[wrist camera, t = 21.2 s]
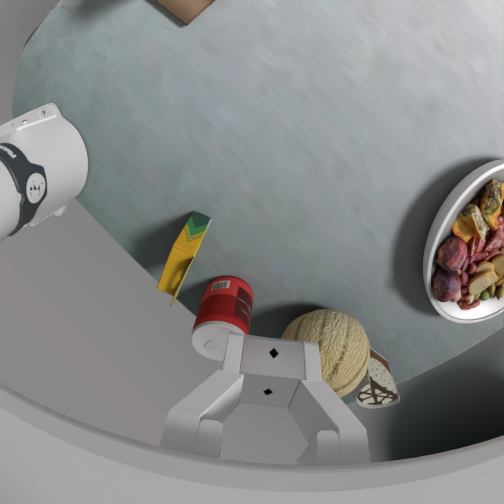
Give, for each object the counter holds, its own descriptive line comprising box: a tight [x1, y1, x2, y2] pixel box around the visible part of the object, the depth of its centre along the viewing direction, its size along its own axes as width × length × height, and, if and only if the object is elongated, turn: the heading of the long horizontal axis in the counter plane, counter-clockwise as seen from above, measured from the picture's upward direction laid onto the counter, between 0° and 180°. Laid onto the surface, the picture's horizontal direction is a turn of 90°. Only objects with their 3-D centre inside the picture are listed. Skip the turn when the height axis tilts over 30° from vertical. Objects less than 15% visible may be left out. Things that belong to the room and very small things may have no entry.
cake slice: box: [352, 346, 400, 408], centre depth 52 cm, size 12×6×10 cm, turn 49°
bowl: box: [423, 159, 504, 323], centre depth 37 cm, size 30×30×8 cm
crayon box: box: [157, 211, 212, 306], centre depth 39 cm, size 7×3×12 cm, turn 153°
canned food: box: [191, 276, 253, 361], centre depth 45 cm, size 8×8×11 cm
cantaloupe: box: [281, 309, 370, 398], centre depth 45 cm, size 15×15×15 cm
